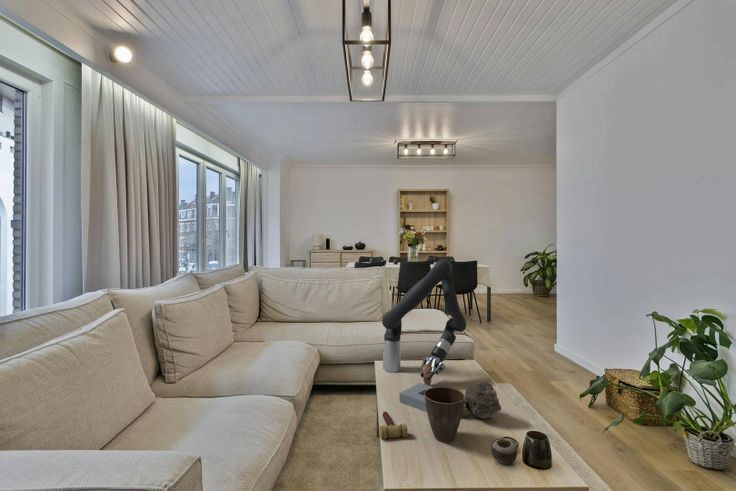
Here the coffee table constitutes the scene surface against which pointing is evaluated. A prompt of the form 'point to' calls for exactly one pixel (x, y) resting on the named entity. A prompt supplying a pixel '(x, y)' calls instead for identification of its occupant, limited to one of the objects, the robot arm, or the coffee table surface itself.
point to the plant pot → (444, 411)
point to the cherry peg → (426, 374)
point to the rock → (481, 400)
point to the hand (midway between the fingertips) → (424, 377)
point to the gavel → (392, 428)
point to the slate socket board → (415, 396)
